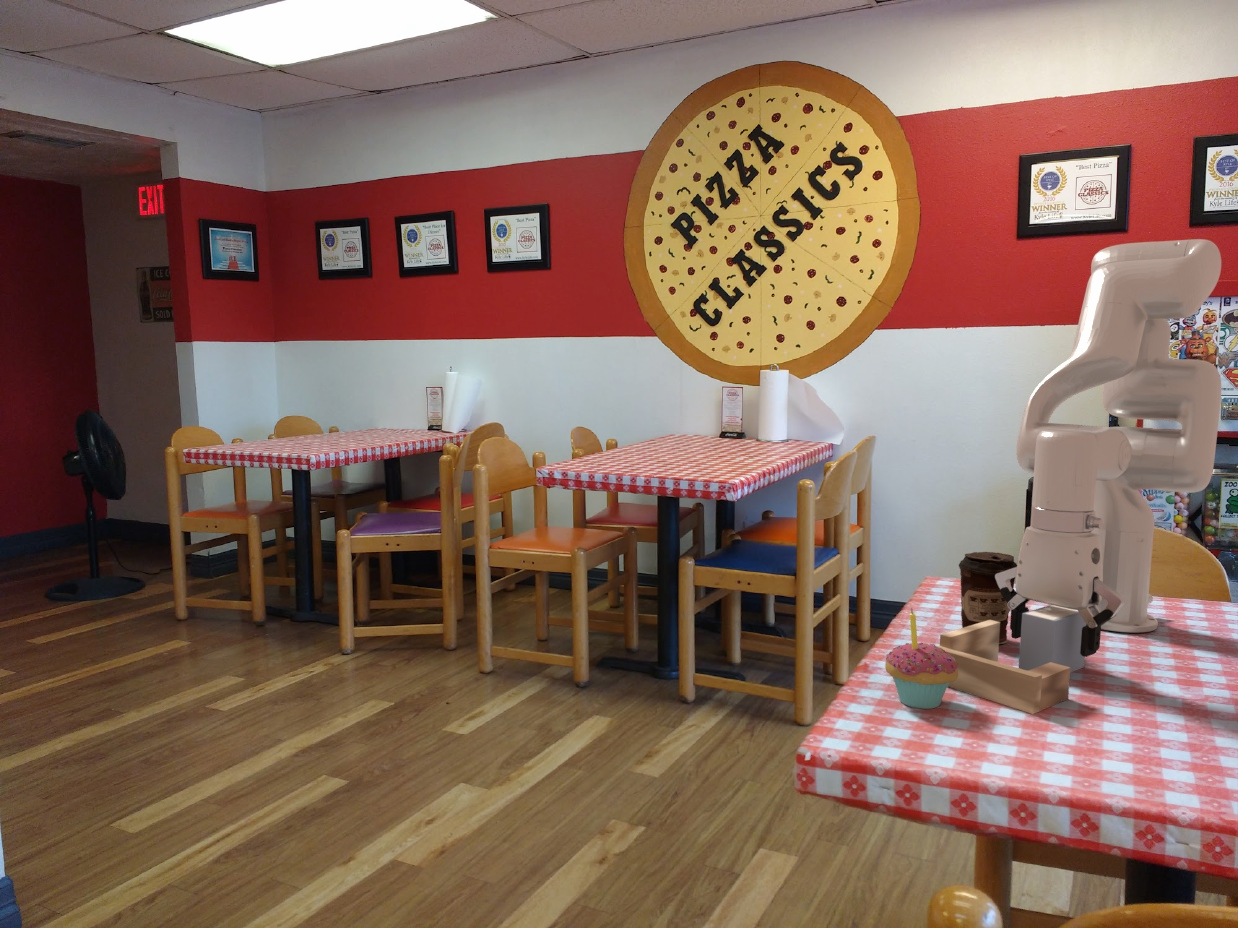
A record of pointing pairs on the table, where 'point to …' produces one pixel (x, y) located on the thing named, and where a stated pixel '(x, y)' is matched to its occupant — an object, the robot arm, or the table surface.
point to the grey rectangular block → (1051, 638)
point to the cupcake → (920, 671)
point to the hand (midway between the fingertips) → (1052, 645)
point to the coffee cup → (984, 589)
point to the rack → (1002, 671)
